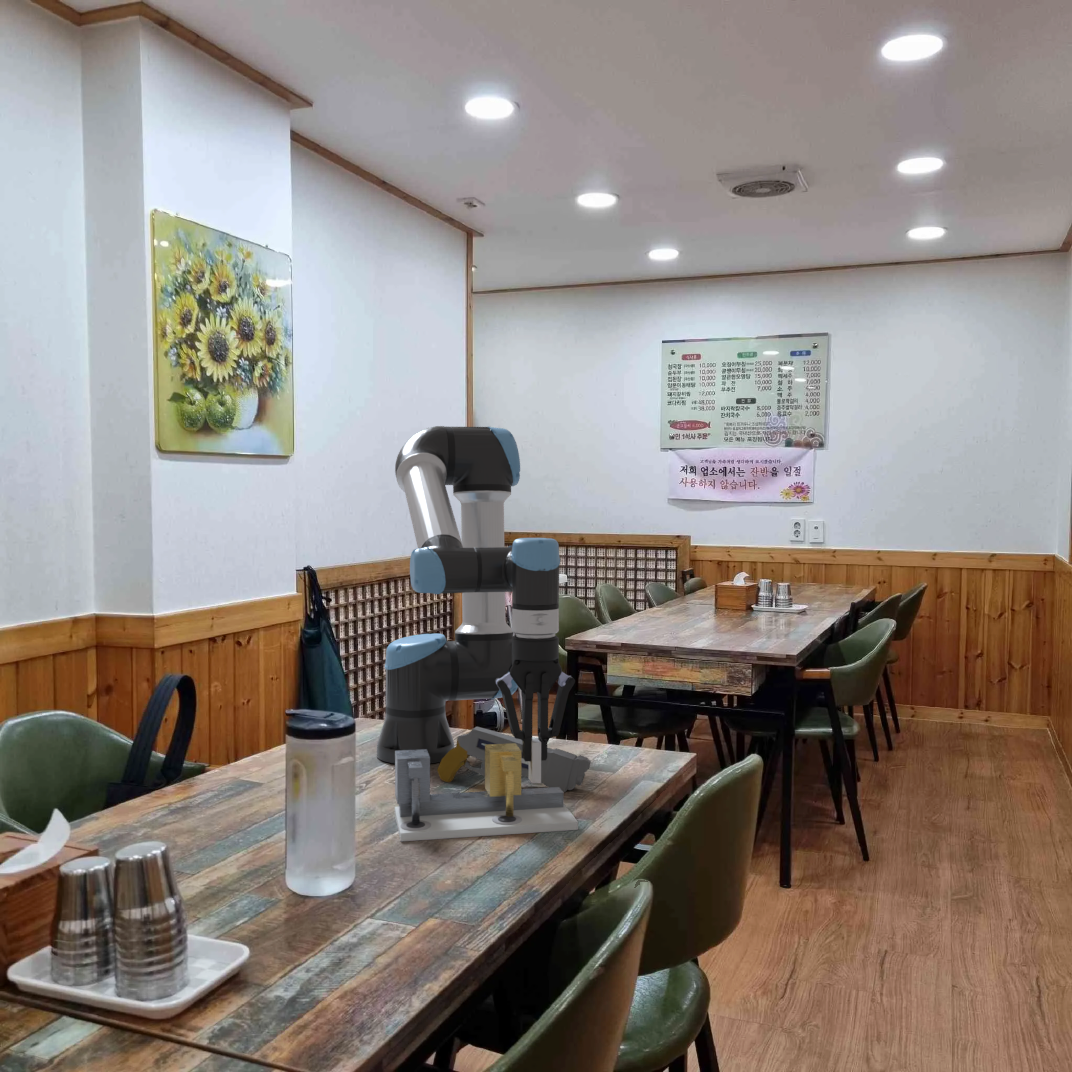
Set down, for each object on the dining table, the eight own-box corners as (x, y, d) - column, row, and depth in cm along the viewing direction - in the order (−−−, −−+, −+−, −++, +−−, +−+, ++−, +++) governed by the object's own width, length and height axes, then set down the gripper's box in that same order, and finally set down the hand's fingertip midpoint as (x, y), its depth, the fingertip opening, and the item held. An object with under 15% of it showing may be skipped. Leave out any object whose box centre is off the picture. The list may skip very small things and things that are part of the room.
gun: (557, 841, 174) (590, 763, 172) (431, 778, 179) (462, 702, 177) (561, 835, 177) (593, 759, 175) (437, 773, 182) (467, 699, 180)
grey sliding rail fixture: (395, 809, 160) (395, 750, 159) (557, 799, 165) (558, 743, 165) (399, 828, 151) (399, 766, 150) (571, 817, 156) (571, 757, 156)
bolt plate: (394, 813, 161) (394, 805, 161) (558, 804, 167) (558, 795, 167) (400, 841, 148) (400, 832, 148) (577, 829, 154) (578, 820, 154)
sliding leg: (484, 799, 162) (485, 744, 162) (515, 797, 164) (515, 743, 163) (494, 817, 154) (494, 759, 153) (526, 815, 155) (526, 757, 154)
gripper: (499, 639, 155) (499, 789, 157) (580, 636, 158) (579, 784, 159) (491, 632, 163) (490, 776, 164) (569, 630, 166) (568, 771, 167)
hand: (534, 780), depth 162 cm, fingers closed
